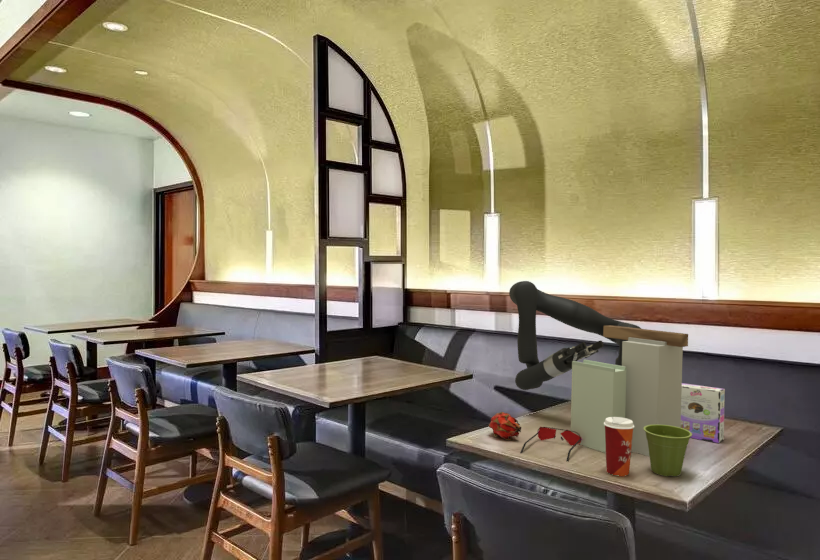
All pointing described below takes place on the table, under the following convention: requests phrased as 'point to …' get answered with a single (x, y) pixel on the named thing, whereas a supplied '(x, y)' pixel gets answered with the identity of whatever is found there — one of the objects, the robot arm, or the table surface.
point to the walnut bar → (646, 335)
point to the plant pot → (667, 448)
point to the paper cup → (618, 445)
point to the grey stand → (651, 386)
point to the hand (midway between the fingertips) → (593, 344)
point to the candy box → (703, 412)
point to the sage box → (596, 400)
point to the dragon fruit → (504, 425)
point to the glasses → (550, 433)
